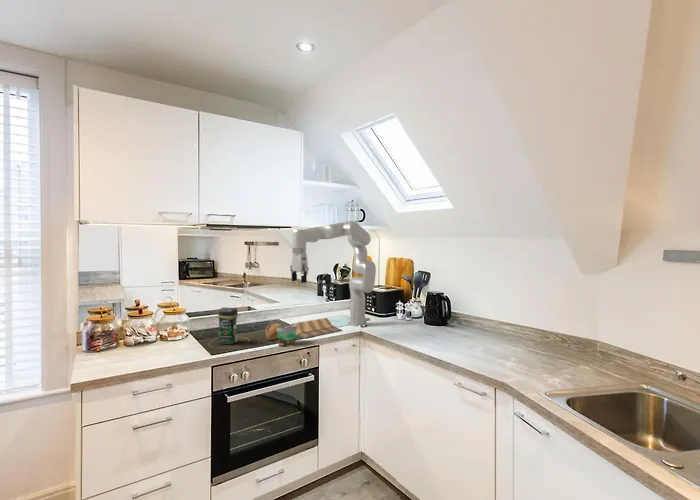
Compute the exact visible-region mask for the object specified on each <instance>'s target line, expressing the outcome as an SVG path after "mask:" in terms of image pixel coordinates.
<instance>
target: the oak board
mask: <svg viewBox="0 0 700 500" xmlns="http://www.w3.org/2000/svg"><path fill="white" fill-rule="evenodd" d="M293 323H294V324H296V325H297V330H296V335H295V336H298V334H301V333H306V332H312V331H317V330H322V329H327V328H332V327H334V325H333V324H332V322H331V321H330V320H329V318H328V317H324V318H319V319H312V320H306V321H301V322H296V323H295V322H293ZM293 323H291V324H290V326H291V325H293Z"/></svg>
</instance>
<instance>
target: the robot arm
mask: <svg viewBox="0 0 700 500" xmlns="http://www.w3.org/2000/svg"><path fill="white" fill-rule="evenodd" d="M346 236H347V238H346V239H347V241H348V244H349V245H350V246H351V247H352V248H353V253H354V254H353V264H352V270H353V272H354V274H357V275H356V276H352V277H351V278H350V280H349V282H348V285H349V286H348V287H349V292H350V295H349V296H350V308H349V309H350V310H349V313H350V314H349V315H350V316H349V317H350V318H349V321H348V322H347V325H348V326H350V325H351V326H352V327H358V326H359V325H360V326H363V325H366V324H367V325H368V323H367V322H369V321H371V318H370V317H366V295H365V293H367V294H369V293H371V292H373V290H374V288H375V284H376V275H377V273H376V271H377V268H376V264H375V262H374V261H373V260H370V259H368V249H367V246H368V245H369V244H370V243H371V240H372V238H371V235H370V233H368V231H367V230H366V229H365V228H363V227H362V226H361V225H360V224H358V223H357V222H355V221H343V222H336V223H332V224H330V223H329V224H326V225H321V226H314V227H309V228H304V229H303V228H302V229H300V228H294V229H293V231H292V255H291V256H292V257H291V265H290V266H289V268H290V275H291V282H297V280H298V274H297V273H301V274H300V275H301V277H300V278H301V279H300V282H301V284H306V283H307V282H308V281H307V277H308V274H309V270H310V268H309V263H308V255H307V243H316V242H318V241H319V240H331V239H336V238H341V237H346ZM358 275H360V276H358ZM361 275H363V276H361ZM351 326H350V327H351Z"/></svg>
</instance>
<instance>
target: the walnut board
mask: <svg viewBox="0 0 700 500" xmlns="http://www.w3.org/2000/svg"><path fill="white" fill-rule="evenodd" d="M342 331H343V329H341V328H338V327H334V326H333V327H332V328H327V329H322V330H317V331H312V332H306V333H301V334H298V335H297V336H299V337H301V338H303V339H309V338H314V337H320V336H323V335H329V334H334V333H338V332H342Z"/></svg>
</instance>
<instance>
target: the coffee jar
mask: <svg viewBox="0 0 700 500" xmlns="http://www.w3.org/2000/svg"><path fill="white" fill-rule="evenodd" d="M217 311H218V313H217V318H218V322H219V323H218V324H219V325H218V334H217V343H218V344H219V345H220V344H222V345H232V344H235V343H237V342H238V329H237V321H238V316H239V314H238V308H236V307H220V308H219V309H218V310H217Z"/></svg>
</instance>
